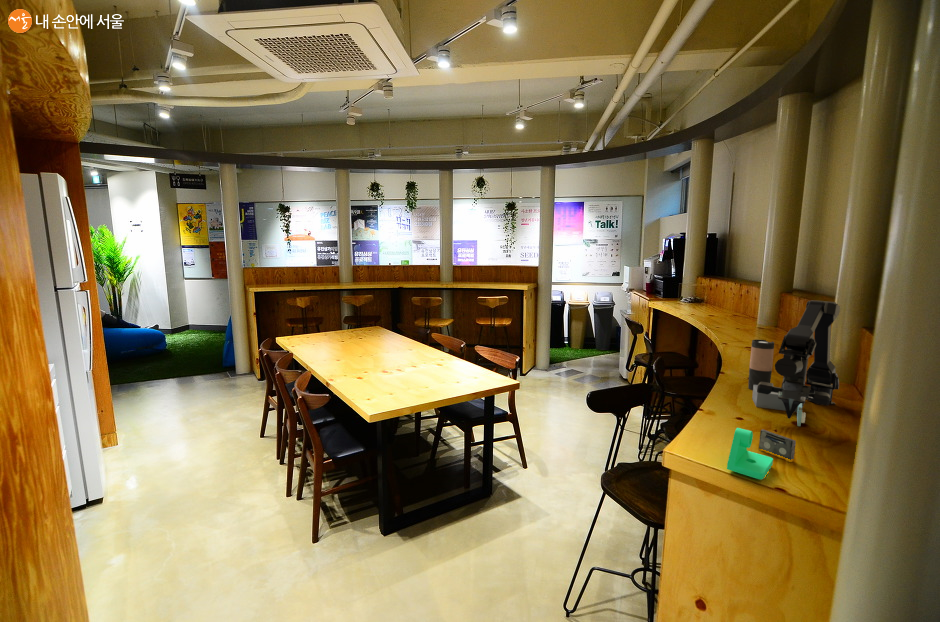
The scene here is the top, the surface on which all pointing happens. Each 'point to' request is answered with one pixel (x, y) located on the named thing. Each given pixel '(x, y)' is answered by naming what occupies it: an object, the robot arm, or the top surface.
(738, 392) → the top surface
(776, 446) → the mini dv tape
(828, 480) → the top surface
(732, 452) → the camera mount
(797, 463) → the top surface
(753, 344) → the travel mug
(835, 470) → the top surface
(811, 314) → the robot arm
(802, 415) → the side door
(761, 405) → the block
